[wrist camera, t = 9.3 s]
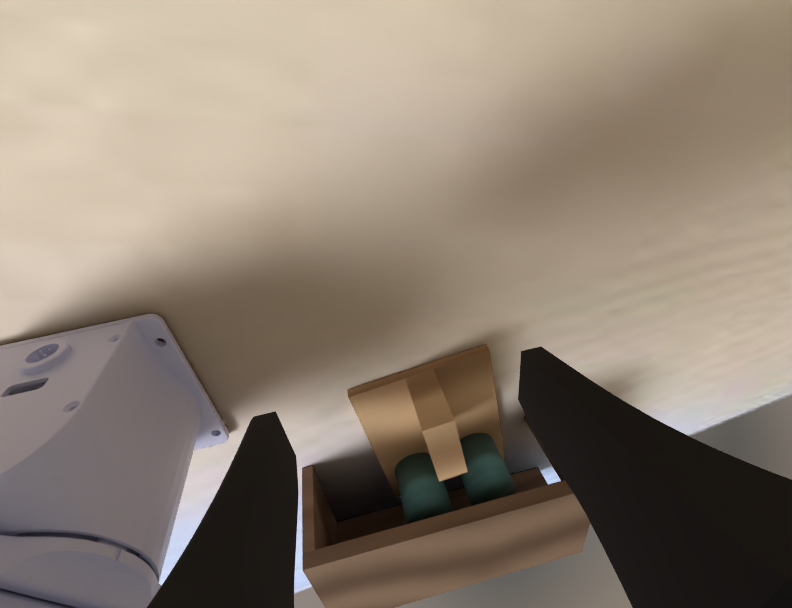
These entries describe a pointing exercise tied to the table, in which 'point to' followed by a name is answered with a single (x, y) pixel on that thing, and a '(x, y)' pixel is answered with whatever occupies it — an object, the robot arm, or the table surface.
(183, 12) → the table surface
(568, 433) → the robot arm
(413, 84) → the table surface
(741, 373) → the table surface
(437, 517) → the wooden caddy
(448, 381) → the tray
